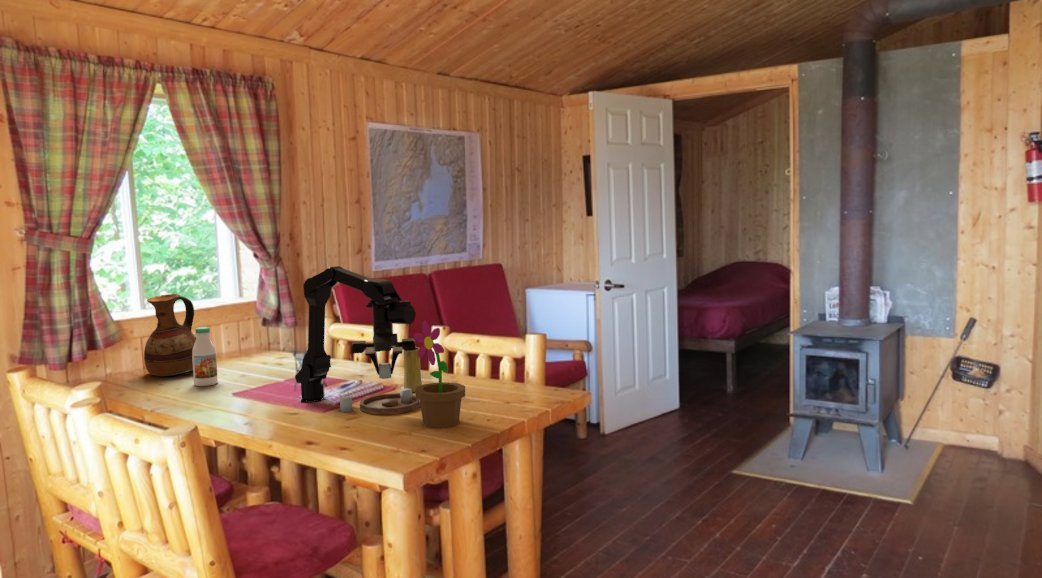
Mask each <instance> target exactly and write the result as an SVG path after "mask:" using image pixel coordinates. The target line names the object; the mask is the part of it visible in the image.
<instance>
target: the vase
mask: <svg viewBox="0 0 1042 578" xmlns="http://www.w3.org/2000/svg"><path fill="white" fill-rule="evenodd" d="M415 347H416V350H411V351H405V350H404V349H403V358H404V359H403V364H404V365H403V366H404V367H403V368H404V369H403V370H404V372H403V373H404V375H403V386H404V387H403V389H404V388H410V389H412V394H413V393H415V390H416V387H418V386H421V385H423V384H422V383H423V381H422V372H421V357H420V358H419V357H418V350H419V349H420V347H419V346H418V347H417V346H415Z"/></svg>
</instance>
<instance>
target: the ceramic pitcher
mask: <svg viewBox="0 0 1042 578" xmlns="http://www.w3.org/2000/svg"><path fill="white" fill-rule="evenodd" d="M179 300H181V301H182V302H183V304H184V307H185V317H184V318H185V319H184V321H183V323H182V324H180V323H179V322H178V320H177V319H176V315H175V310H174V307H175V304H176V302H177V301H179ZM146 301H147V302H148V303H149V304H150V305H152V306H153V309H155V317H156V319H157V324H156V328H155V329H154V330H153V331H152V332H151V334H150V335H149V336H148V339H147V341H146V343H145V345H144V350H143V351H144V352H143V354H144V355H143V359H144V364H145V368H146V371H147V373H149V374H151V375H153V376H157V377H172V376H176V375H181V374H184V373H188V372H193V360H192V351H193V347H194V344H195V342H196V337H197V336H195V334H193V332H192V327H193V321H194V317H195V308H194V307H195V306H194V304H193V302H192V301H191V300H190V299H189V298H188V297H186V296H185V295H180V294H178V293H171V294H161V295H159V296H152V297H149V298H147V300H146Z"/></svg>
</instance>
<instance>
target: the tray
mask: <svg viewBox="0 0 1042 578" xmlns="http://www.w3.org/2000/svg"><path fill="white" fill-rule="evenodd" d="M419 408H421V406H420V400H419V399H417V398H416V396H415V395H414V394H412V403H409V404H402V403H401V397H400V393H398V392H396V393H392V392H391V393H381V394H375V395H370V396H367V397H365V398H363V399H360V401H359V410H360V411H361V412H362V413H365V414H370V415H376V416H377V415H379V416H380V415H381V416H388V415H390V416H392V415H401V414H405V413H409V412H412V411H415V410H417V409H419Z"/></svg>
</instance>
